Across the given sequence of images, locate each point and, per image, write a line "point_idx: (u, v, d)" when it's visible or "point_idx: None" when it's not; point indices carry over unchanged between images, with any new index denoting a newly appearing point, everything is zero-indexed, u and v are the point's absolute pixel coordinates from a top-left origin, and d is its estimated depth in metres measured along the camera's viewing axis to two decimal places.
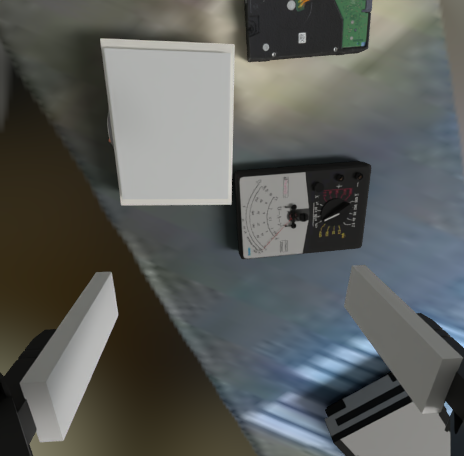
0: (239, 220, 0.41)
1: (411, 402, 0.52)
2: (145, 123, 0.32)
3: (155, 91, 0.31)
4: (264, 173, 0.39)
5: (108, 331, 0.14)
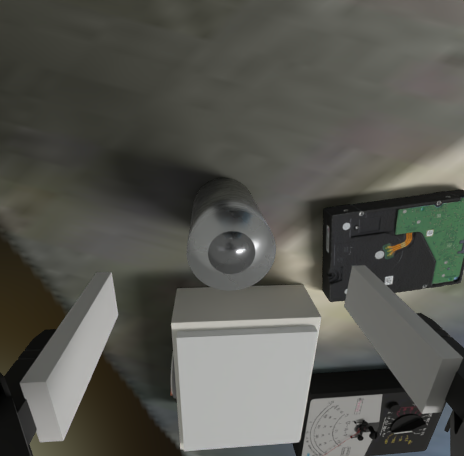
0: (302, 430, 0.37)
1: None
2: (216, 392, 0.28)
3: (230, 367, 0.27)
4: (338, 394, 0.35)
5: (108, 331, 0.14)
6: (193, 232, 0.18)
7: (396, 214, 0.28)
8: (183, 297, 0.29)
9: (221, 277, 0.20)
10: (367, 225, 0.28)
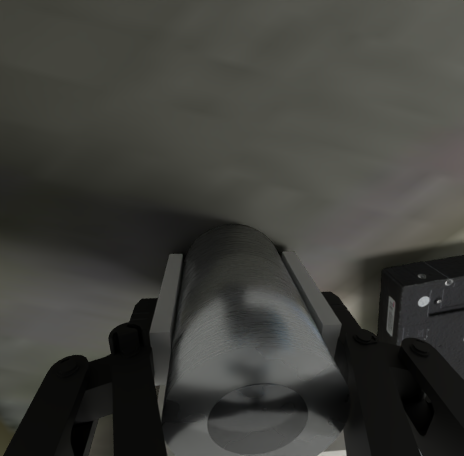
0: None
1: None
2: None
3: None
4: None
5: None
6: (174, 389, 0.08)
7: None
8: None
9: None
10: (454, 296, 0.18)
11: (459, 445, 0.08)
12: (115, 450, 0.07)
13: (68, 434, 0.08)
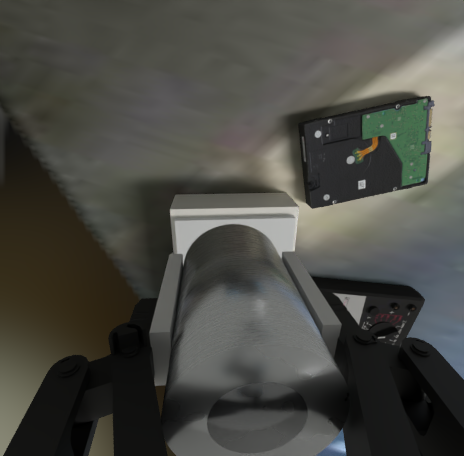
0: None
1: None
2: None
3: None
4: (328, 290, 0.39)
5: None
6: (174, 387, 0.08)
7: (361, 120, 0.32)
8: (180, 198, 0.34)
9: None
10: (336, 132, 0.32)
11: (459, 445, 0.08)
12: (115, 450, 0.07)
13: (68, 434, 0.08)
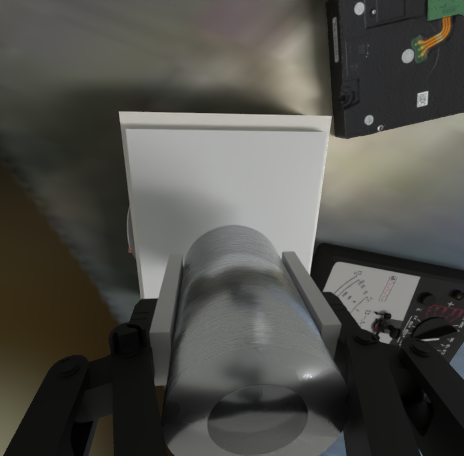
0: None
1: None
2: (187, 234, 0.21)
3: (205, 190, 0.20)
4: (368, 264, 0.27)
5: None
6: (175, 390, 0.08)
7: None
8: None
9: None
10: (388, 8, 0.21)
11: (459, 445, 0.08)
12: (115, 450, 0.07)
13: (68, 434, 0.08)
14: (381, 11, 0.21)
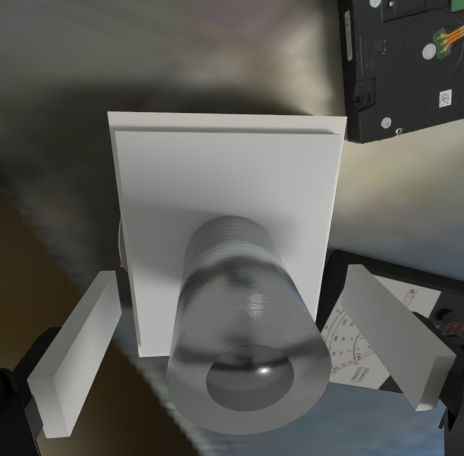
0: (319, 325, 0.26)
1: None
2: (184, 248, 0.19)
3: (205, 200, 0.18)
4: (387, 274, 0.25)
5: (112, 329, 0.14)
6: (178, 349, 0.10)
7: None
8: None
9: (230, 416, 0.11)
10: None
11: None
12: None
13: None
14: (399, 2, 0.18)
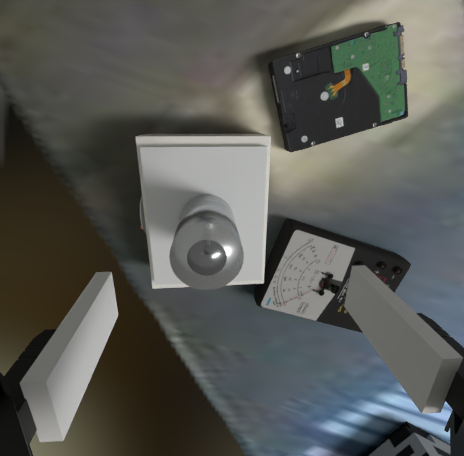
0: (274, 268, 0.39)
1: None
2: (179, 214, 0.32)
3: (191, 185, 0.30)
4: (318, 234, 0.38)
5: (108, 331, 0.14)
6: (174, 241, 0.22)
7: (330, 53, 0.31)
8: (150, 134, 0.33)
9: (199, 278, 0.24)
10: (307, 67, 0.32)
11: None
12: None
13: None
14: (302, 70, 0.32)
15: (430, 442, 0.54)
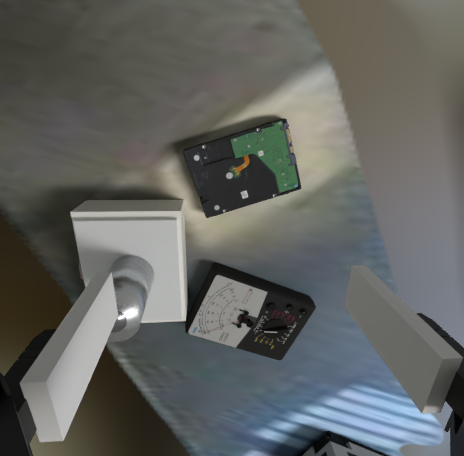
0: (199, 303, 0.47)
1: None
2: None
3: (116, 248, 0.38)
4: (237, 279, 0.45)
5: (108, 331, 0.14)
6: None
7: (231, 143, 0.39)
8: (88, 203, 0.40)
9: None
10: (213, 154, 0.39)
11: None
12: None
13: None
14: (209, 156, 0.39)
15: (345, 449, 0.63)
